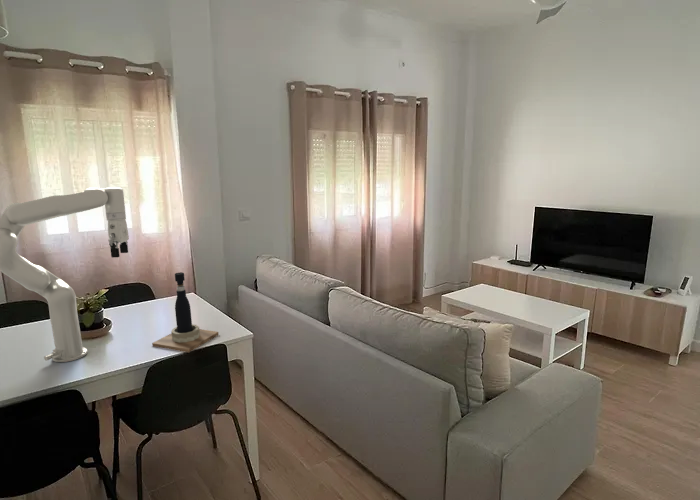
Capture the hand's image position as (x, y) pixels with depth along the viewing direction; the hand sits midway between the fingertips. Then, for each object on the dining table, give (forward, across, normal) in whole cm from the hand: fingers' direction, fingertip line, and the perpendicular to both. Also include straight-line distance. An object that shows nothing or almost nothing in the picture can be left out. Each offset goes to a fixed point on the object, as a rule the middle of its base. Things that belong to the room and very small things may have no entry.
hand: (120, 255), depth 192 cm
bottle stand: (+39, -5, -27) cm, 48 cm away
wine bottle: (+38, -5, -26) cm, 47 cm away
